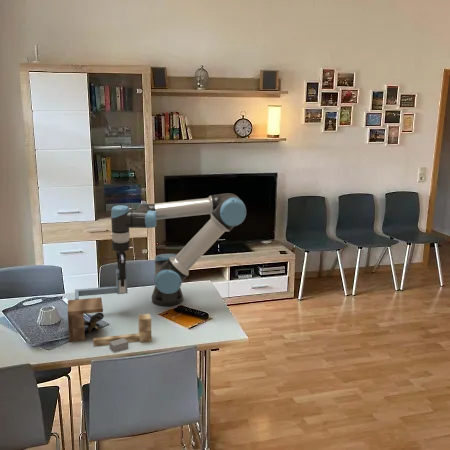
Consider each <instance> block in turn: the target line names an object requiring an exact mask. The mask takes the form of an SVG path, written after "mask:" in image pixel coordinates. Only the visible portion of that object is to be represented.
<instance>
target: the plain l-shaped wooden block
mask: <svg viewBox="0 0 450 450" xmlns="http://www.w3.org/2000/svg"><path fill="white" fill-rule="evenodd" d="M137 315H138V333H130V334H120V335H111V336H101V337H93V347H101V346H108V345H109V346H110V343H109V342H111V341H114V340H118V339H121V338H124V339H125V340H127V341H128V343H135V342H139V343H146V342H147V343H149V342H152V317H151V313H144V314H137Z"/></svg>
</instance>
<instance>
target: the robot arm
mask: <svg viewBox="0 0 450 450" xmlns="http://www.w3.org/2000/svg"><path fill="white" fill-rule="evenodd" d="M110 212H111V215H110V216H111V219H110V220H111V223H110V224H111V233H110V236H111V240H112V242H111V248H112V250H113V251H114V252H116V253H115V256H116V261H117V270H118V269H119V278H118V280H119V293H125V294H127V293H126V284H125V279H126V270H127V269H126V258H127V253H126V251H129V250H130V247H131V246H130V244H131V243H130V228H131V229H134V228H135V229H136V228H137V229H139V228H140V229H153V228H156V227H157V221H158V220H165V219H175V218H176V219H177V218H183V217H193V216H202V215H210V219H209V220H208V221H207V222H206V223H205V224H204V225H203V227H202V228H200V229H199V230H198V232H197V233H196V234H195V235H194V236H193V237H192V238H191V239H190V240H189V241H188V242H187V243H186V245H184V246H183V248H182V249H181V250H180V251H179V252H178V253H177V254H175V253H161V254H157V255H155V258H154V284H155V285H154V287H153V292H152V295H151V302H152V303H153V304H155V305H156V306H160V307H173V306H177V305H180V304H181V303H182V302H183V301H184V294H183V291H182V289H181V286H182V285H183V283H182V282H184V280H185V279H186V278H187V277H188V276H189V275H190V274H189V273H190V269H191V268H192V267H193V266H194V265H195V264H196V263H197V262H198V261H199V259H201V257H203V255H204V254H206V252H207V251H208V250H209V249H210V248H211V247H212V246H213V245H214V243H216V241H218V240H219V239H220V237H221V236H222V235H223V234H224V233H225V232H231V231H232V230H233V228H234V227H237V226H239V225H242V223H243V222H244V221H245V219H246V216H247V208H246V204H245V203H244V201H243V200H242V199H241V198H240V197H239V196H238V195H237V194H235V193H232V192H231V193H229V192H227V193H219V194H213V195H212V194H211V195H209V196H208V197H206V198H205V197H204V198H194V199H193V198H192V199H185V200H177V201H176V200H175V201H168V202H166V201H165V202H158V203H146V202H142V203H140V204H139V205H138V206H137V207H136V209H135V210H130V208H129V206H127V205H122V204H121V205H115V206H112V208H111V211H110ZM125 269H126V270H125Z"/></svg>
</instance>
